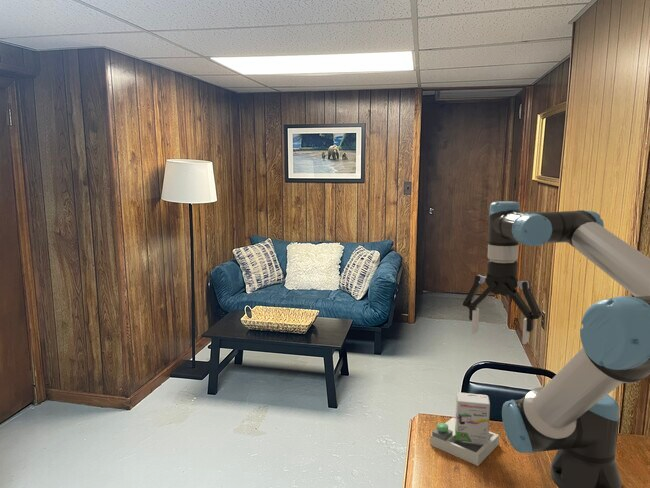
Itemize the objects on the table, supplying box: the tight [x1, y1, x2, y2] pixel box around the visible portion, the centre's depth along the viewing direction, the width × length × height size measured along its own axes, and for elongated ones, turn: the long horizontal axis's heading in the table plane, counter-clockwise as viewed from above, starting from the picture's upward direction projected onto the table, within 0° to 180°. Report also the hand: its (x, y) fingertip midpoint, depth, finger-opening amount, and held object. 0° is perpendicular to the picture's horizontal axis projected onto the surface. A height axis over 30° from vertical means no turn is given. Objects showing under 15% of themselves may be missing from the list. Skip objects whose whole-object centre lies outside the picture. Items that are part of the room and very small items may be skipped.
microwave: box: [429, 417, 500, 467], centre depth 132 cm, size 14×12×4 cm
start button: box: [436, 422, 448, 433], centre depth 132 cm, size 3×3×2 cm
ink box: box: [455, 391, 491, 444], centre depth 130 cm, size 8×5×12 cm, turn 77°
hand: (499, 337), depth 129 cm, fingers open, 13 cm apart
